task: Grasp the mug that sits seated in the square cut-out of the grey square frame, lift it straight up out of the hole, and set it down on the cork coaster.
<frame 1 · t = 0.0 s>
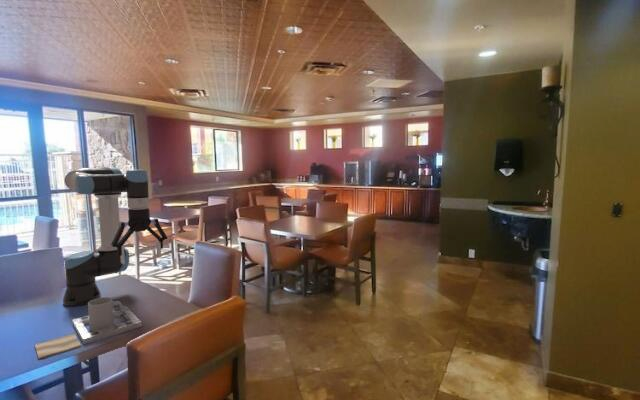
hand: (141, 260, 137), 28 cm above the table, fingers open, 13 cm apart
grey square frame: (106, 325, 140), on the table
mug: (106, 325, 140), resting in grey square frame
coaster: (57, 346, 124), on the table
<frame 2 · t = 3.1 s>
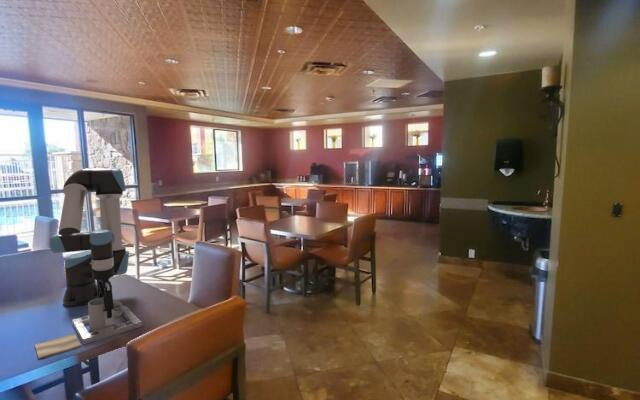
hand: (106, 321, 140), 2 cm above the table, fingers closed on mug, 8 cm apart
mug: (107, 325, 140), resting in grey square frame, touching gripper
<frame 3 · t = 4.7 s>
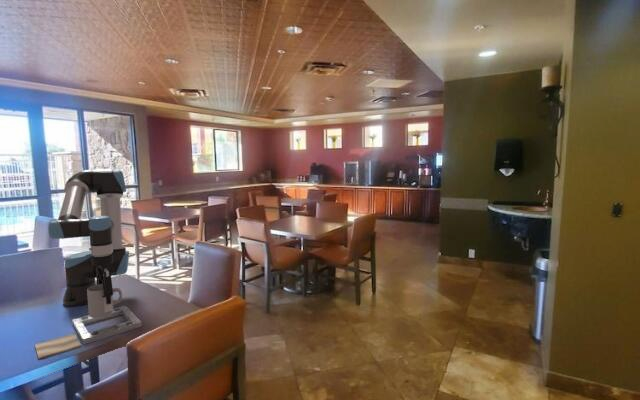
hand: (105, 307, 140), 8 cm above the table, fingers closed on mug, 8 cm apart
mug: (106, 312, 140), point 6 cm above the table, touching gripper
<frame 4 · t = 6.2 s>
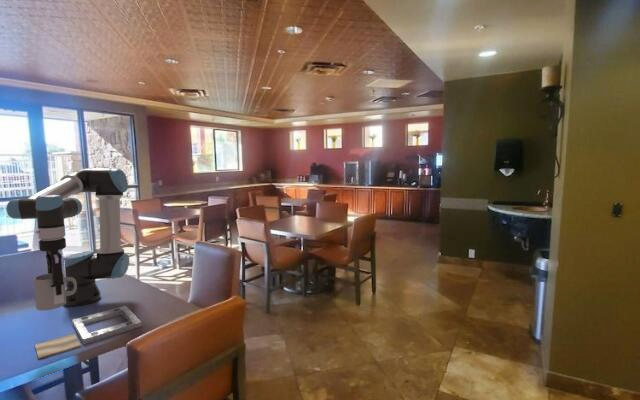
hand: (57, 299, 123), 18 cm above the table, fingers closed on mug, 8 cm apart
mug: (57, 305, 123), point 16 cm above the table, touching gripper
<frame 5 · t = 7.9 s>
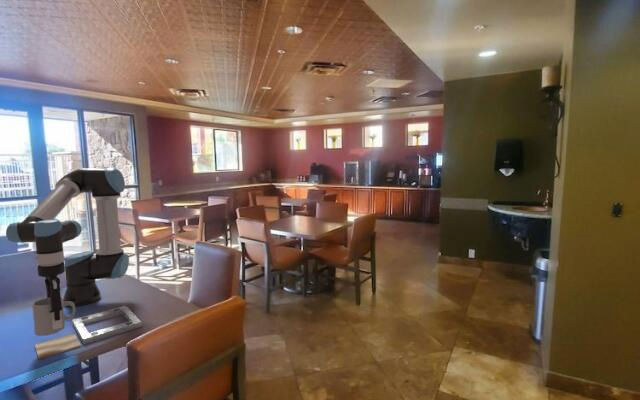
hand: (55, 323, 123), 9 cm above the table, fingers closed on mug, 8 cm apart
mug: (56, 329, 123), point 7 cm above the table, touching gripper
when the fingers open (4 cm above the table, at t = 9.3 s): mug drops 1 cm, resting on coaster.
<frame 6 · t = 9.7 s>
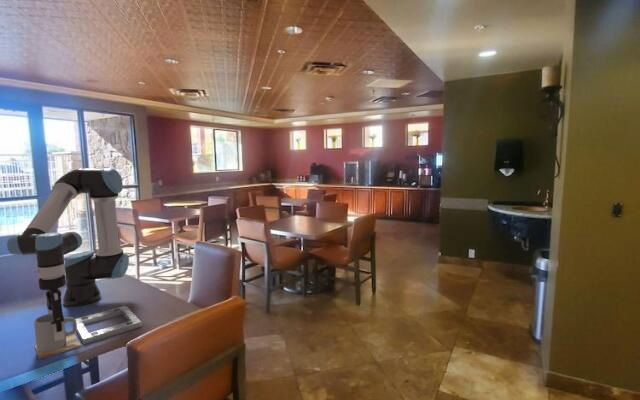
hand: (56, 332, 123), 5 cm above the table, fingers open, 13 cm apart
mug: (58, 345, 124), resting on coaster
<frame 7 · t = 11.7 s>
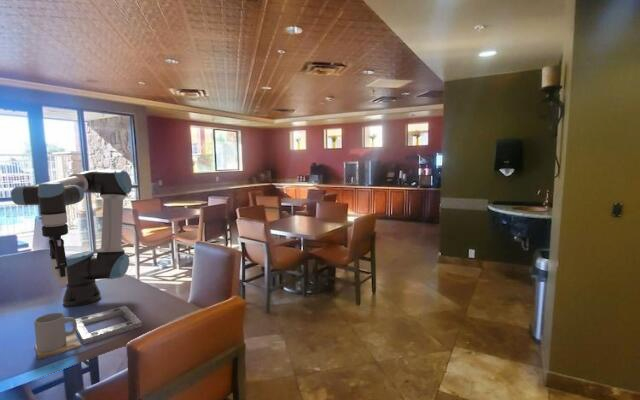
hand: (60, 279, 127), 23 cm above the table, fingers open, 13 cm apart
nothing on the table moved.
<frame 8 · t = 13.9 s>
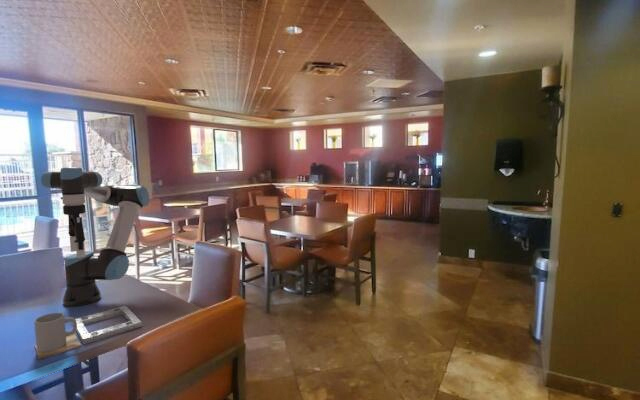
hand: (77, 254, 143), 29 cm above the table, fingers open, 13 cm apart
nothing on the table moved.
at the end: mug 0.2 cm from the coaster (horizontally); mug resting on coaster; mug tilted 0° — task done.
